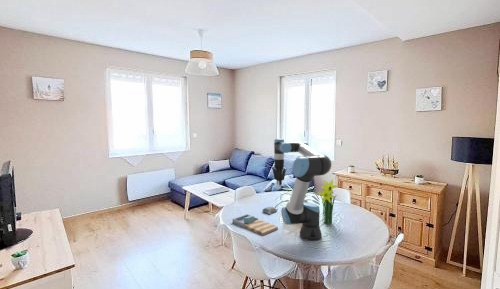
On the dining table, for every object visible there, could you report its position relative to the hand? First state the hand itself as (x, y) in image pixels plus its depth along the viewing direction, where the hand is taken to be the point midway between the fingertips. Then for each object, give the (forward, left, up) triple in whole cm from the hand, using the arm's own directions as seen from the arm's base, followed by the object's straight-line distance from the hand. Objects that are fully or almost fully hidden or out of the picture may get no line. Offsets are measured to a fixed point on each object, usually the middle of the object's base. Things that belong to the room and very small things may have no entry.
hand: (279, 188), depth 207 cm
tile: (+16, +17, -27) cm, 35 cm away
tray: (+21, +17, -28) cm, 39 cm away
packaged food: (+19, -10, -30) cm, 37 cm away
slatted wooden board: (+4, +17, -28) cm, 33 cm away
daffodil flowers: (-27, -26, -28) cm, 47 cm away
